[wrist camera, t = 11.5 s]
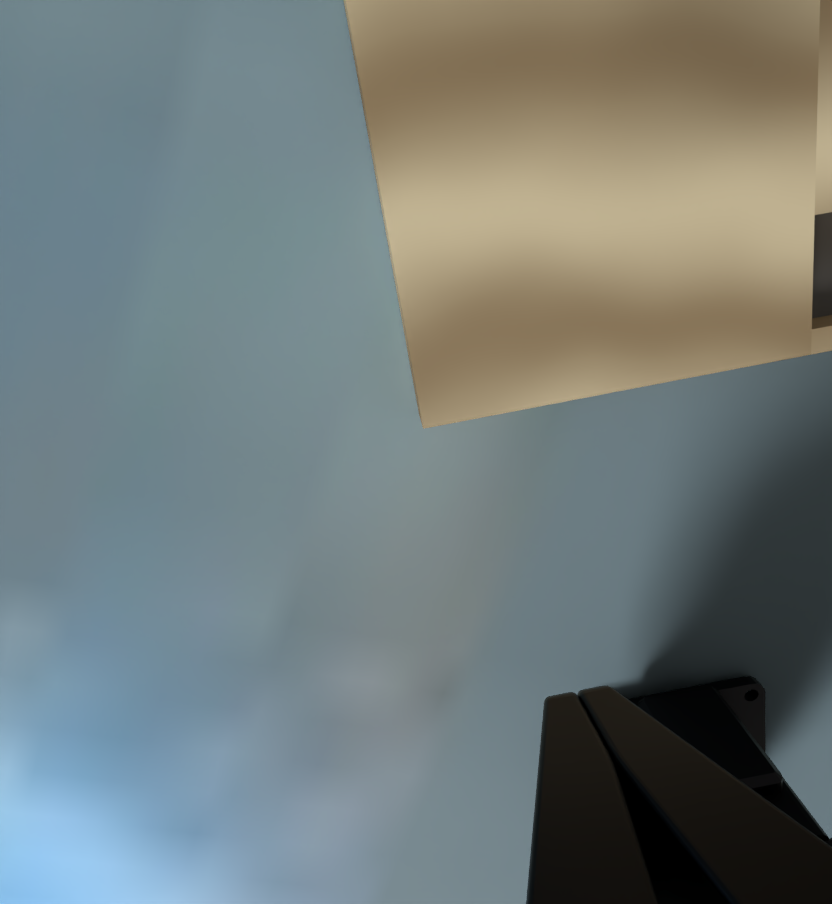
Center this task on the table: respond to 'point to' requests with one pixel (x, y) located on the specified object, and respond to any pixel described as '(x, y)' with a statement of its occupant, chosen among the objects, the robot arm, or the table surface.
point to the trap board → (598, 190)
